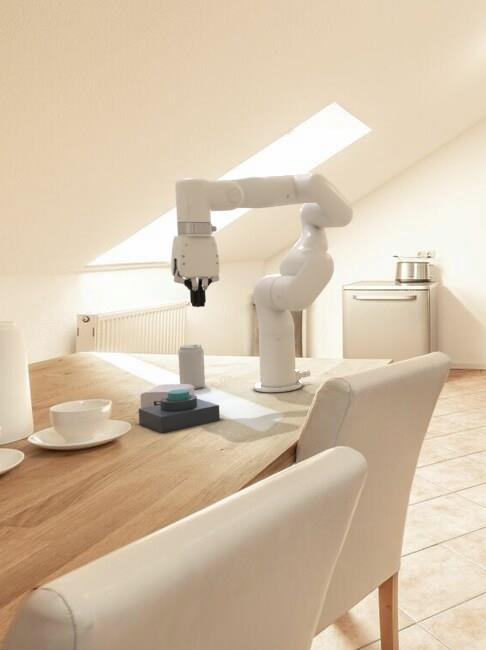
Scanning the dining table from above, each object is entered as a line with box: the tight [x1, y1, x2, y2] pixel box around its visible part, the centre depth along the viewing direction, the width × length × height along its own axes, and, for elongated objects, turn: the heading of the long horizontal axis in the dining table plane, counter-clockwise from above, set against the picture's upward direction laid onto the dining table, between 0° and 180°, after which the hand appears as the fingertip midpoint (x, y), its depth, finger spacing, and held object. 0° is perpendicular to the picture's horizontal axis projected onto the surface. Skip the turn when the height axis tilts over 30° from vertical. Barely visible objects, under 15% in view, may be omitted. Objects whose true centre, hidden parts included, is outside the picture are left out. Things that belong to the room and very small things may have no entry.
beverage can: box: [177, 344, 206, 390], centre depth 176 cm, size 6×6×12 cm
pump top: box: [168, 389, 190, 401], centre depth 141 cm, size 4×4×2 cm
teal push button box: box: [138, 394, 221, 434], centre depth 142 cm, size 13×11×6 cm
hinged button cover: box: [140, 383, 195, 408], centre depth 158 cm, size 5×9×15 cm
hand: (198, 306), depth 153 cm, fingers closed
